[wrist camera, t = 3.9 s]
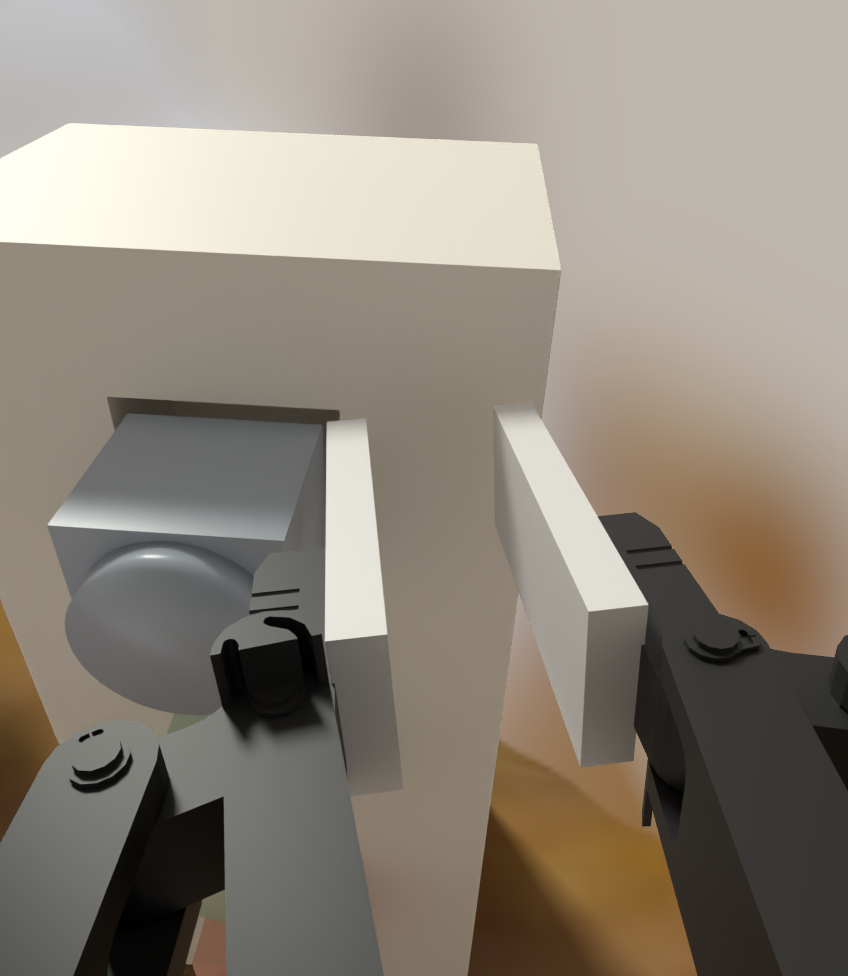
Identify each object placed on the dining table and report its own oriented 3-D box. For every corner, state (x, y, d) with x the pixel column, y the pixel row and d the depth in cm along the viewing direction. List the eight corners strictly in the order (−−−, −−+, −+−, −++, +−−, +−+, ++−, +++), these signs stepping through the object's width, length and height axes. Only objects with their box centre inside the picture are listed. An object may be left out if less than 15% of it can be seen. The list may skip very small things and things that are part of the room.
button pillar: (211, 762, 43) (69, 123, 24) (470, 782, 42) (537, 143, 23) (146, 960, 35) (-148, 234, 16) (465, 988, 34) (561, 270, 15)
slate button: (161, 560, 20) (127, 413, 18) (331, 571, 20) (322, 424, 18) (83, 713, 17) (25, 554, 14) (292, 728, 16) (273, 570, 14)
